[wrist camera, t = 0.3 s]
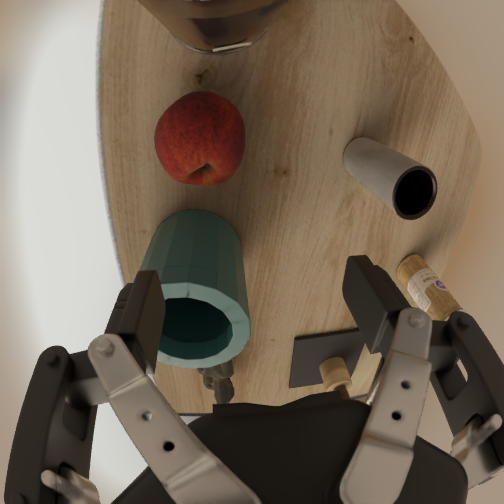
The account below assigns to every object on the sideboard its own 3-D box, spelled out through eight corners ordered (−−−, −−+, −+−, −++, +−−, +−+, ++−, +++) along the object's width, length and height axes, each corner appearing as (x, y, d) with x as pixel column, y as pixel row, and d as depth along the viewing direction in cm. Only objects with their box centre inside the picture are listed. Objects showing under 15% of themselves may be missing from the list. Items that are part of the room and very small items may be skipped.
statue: (181, 297, 39) (213, 393, 46) (168, 320, 34) (207, 417, 41) (226, 294, 38) (249, 394, 45) (218, 318, 33) (245, 418, 40)
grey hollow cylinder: (376, 179, 29) (429, 222, 20) (339, 175, 29) (386, 219, 20) (383, 140, 27) (443, 170, 18) (345, 134, 26) (399, 161, 18)
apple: (161, 167, 27) (141, 198, 20) (166, 89, 23) (144, 91, 16) (237, 172, 28) (242, 204, 21) (247, 94, 24) (256, 97, 17)
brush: (321, 359, 44) (352, 464, 28) (346, 354, 44) (381, 455, 28) (317, 373, 47) (344, 472, 31) (341, 369, 47) (371, 464, 31)
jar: (144, 214, 29) (108, 286, 19) (238, 206, 30) (247, 277, 20) (161, 288, 34) (145, 368, 24) (243, 283, 35) (252, 365, 25)
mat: (294, 337, 41) (295, 340, 41) (368, 326, 42) (369, 329, 42) (288, 385, 49) (289, 388, 48) (350, 375, 50) (350, 378, 49)
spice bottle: (424, 251, 35) (480, 316, 24) (417, 277, 38) (464, 343, 26) (399, 254, 35) (453, 325, 24) (392, 282, 38) (438, 353, 26)
